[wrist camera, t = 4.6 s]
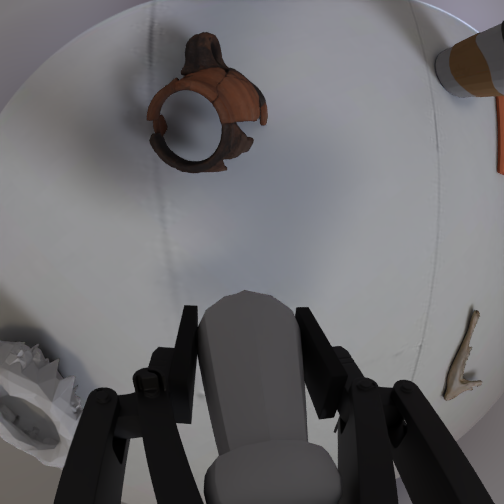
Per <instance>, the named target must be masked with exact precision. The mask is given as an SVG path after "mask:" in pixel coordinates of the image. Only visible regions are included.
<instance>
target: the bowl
mask: <svg viewBox="0 0 504 504" xmlns="http://www.w3.org/2000/svg"><path fill="white" fill-rule="evenodd" d="M25 343H26V342H20V341H19V342H7V341H0V437H1V438H2V439H4V440H5V441H6V442H7V443H10V444H12V445H13V446H15V447H16V448H17V449H21V450H23V451H24V452H26V453H28V454H31V455H33V456H35V457H36V458H37V459H38V460H39V461H40V462H41V463H43V464H44V465H47V466H54V467H64V464H65V461H66V458H67V455H68V452H69V448H70V445H71V442H72V440H73V437H74V434H75V431H76V428H77V425H78V422H79V420H80V417H81V414H82V412H83V410H82V408H81V406H80V405H81V401H80V397H78V396H76V394H75V392H76V389H77V387H78V385H77V386H76V387H75V388H74V389H73V385H74V380H75V376H68V377H66V378H64V379H63V377H62V376H61V375H60V373H59V372H58V371H57V369H58V363H59V358H58V359H57V360H55V361H53V362H51V363H49V359H48V358H47V359H45V358H44V356H43V354H42V351H41V349H39V348H38V346H39V344H37V345H35V346H34V347H32V348H31V349H30V348H29V346H27V345H25ZM72 389H73V390H72Z"/></svg>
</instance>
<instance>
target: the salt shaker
mask: <svg viewBox="0 0 504 504" xmlns="http://www.w3.org/2000/svg"><path fill="white" fill-rule="evenodd" d="M196 346H197V355H198V360H199V366H200V371H201V376H202V381H203V386H204V391H205V396H206V401H207V406H208V410H209V415H210V420H211V424H212V428H213V433H214V437H215V441H216V445H217V449H218V453H219V456H218V457H217V459H216V460H215V461H214V462H213V463H212V465H211V466H210V467H209V468H208V470H207V472H206V475H205V479H204V496H205V500H206V504H338V502H339V501H340V499H341V497H342V496H343V494H344V493H343V485H342V478H341V476H340V473H339V471H338V469H337V467H336V465H335V463H334V462H333V460H332V458H331V457H330V455H329V453H328V452H327V451H326V450H325V449H324V448H323V447H322V446H319V445H315V444H312V443H309V442H308V433H307V414H306V397H305V382H304V368H303V355H302V342H301V331H300V327H299V325H298V323H297V320H296V318H295V316H294V314H293V311H292V310H291V309H290V308H289V307H287V306H286V305H284V304H283V303H281V302H280V301H279V300H277V299H276V298H274V297H273V296H271V295H266V294H261V293H256V292H251V291H247V290H243V291H241V292H239V293H237V294H233V295H229V296H225V297H223V298H222V299H220V300H219V301H218V302H216V303H215V304H214V305H212V306H211V307H210V308H208V309H207V310H206V311H205V313H204V315H203V318H202V320H201V322H200V324H199V326H198V328H197V331H196Z"/></svg>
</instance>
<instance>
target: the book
mask: <svg viewBox="0 0 504 504" xmlns="http://www.w3.org/2000/svg"><path fill="white" fill-rule="evenodd" d="M496 105H497V121H498V166H497V172H498V173H500V174H502V175H504V96H496Z"/></svg>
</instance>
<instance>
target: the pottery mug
mask: <svg viewBox="0 0 504 504" xmlns="http://www.w3.org/2000/svg"><path fill="white" fill-rule="evenodd" d="M180 73H181V75H184V77H183V78H182V79H180V80H179V79H178V78H175V79H173V80H172V81H171V82H170V83H169V84H168V85H166V86H165V87H163V88H162V89H161V90H159V91H158V92H157V94H156V95H155V96H154V98H153V99H152V101H151V103H150V105H149V107H148V112H147V120H148V121H153V128H154V131H155V133H154V134H152V135H151V137H150V140H149V141H150V144H151V146H152V148H153V149H154V151H155V152H156V153H157V155H158V156H159V157H160V158H161V159H162V160H163V161H164V162H165V163H166V164H168V165H169V166H171V167H173V168H176V169H177V170H180V171H182V172H188V173H199V172H220V171H225V170H227V167H226V166H225V165H224V162H223V160H224V159H232V158H236V157H238V156H239V155H240V154H241V153H244V152H247V151H249V149H250V147H251V146H252V144H253V141H254V139H253V138H251V137H247V136H246V134H245V133H244V132H243V131H242V130H241V129H240V128H239V126H238V125H237V124H236V122H243V121H257V119H258V118H259V116H260V108H261V117H260V124H261V125H263V126H264V125H266V123H267V118H268V113H267V105H266V100H265V98H264V96H263V94H262V93H261V91H260V90H259V89H258V88H257V87H256V86H255V85H254V84H253V83H252V82H250V81H249V80H248V79H247V78H246V77H245V76H244V75H242V74H241V73H240V72H238V71H236V70H235V69H233V68H228V67H227V66H226V64H225V63H224V61H223V59H222V53H221V48H220V44H219V41H218V39H217V37H216V36H215V35H213V34H211V33H208V32H203V33H200V34H196V35H194V36H193V37H192V38H190V39H189V41H188V42H187V44H186V48H185V65H184V67H183V68H182V70H181V72H180ZM181 90H190V91H194V92H197V93H199V94H201V95H203V96H204V97H205V98H207V99H208V100H209V101H210V102H211V103H212V104H213V106H214V107H215V109H216V111H217V113H218V115H219V118H220V122H221V124H222V134H221V140H220V143H219V145H218V147H217V149H216V151H215V152H214V153H213V154H212V155H211V156H210V157H209V158H207V159H205V160H202V161H188V160H185V159H183V158H181V157H179V156H178V155H176V154H175V153H174V152H173V151H171V150H170V148H169V147H168V146H167V144H166V142H165V139H164V137H163V136H164V134H165V132H166V131H167V124H166V121H165V118H164V116H163V115H160V110H161V107H162V105H163V103H164V102H165V100H166V99H167V98H168V97H169V96H170V95H171V94H173V93H175V92H178V91H181ZM259 107H260V108H259Z"/></svg>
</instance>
